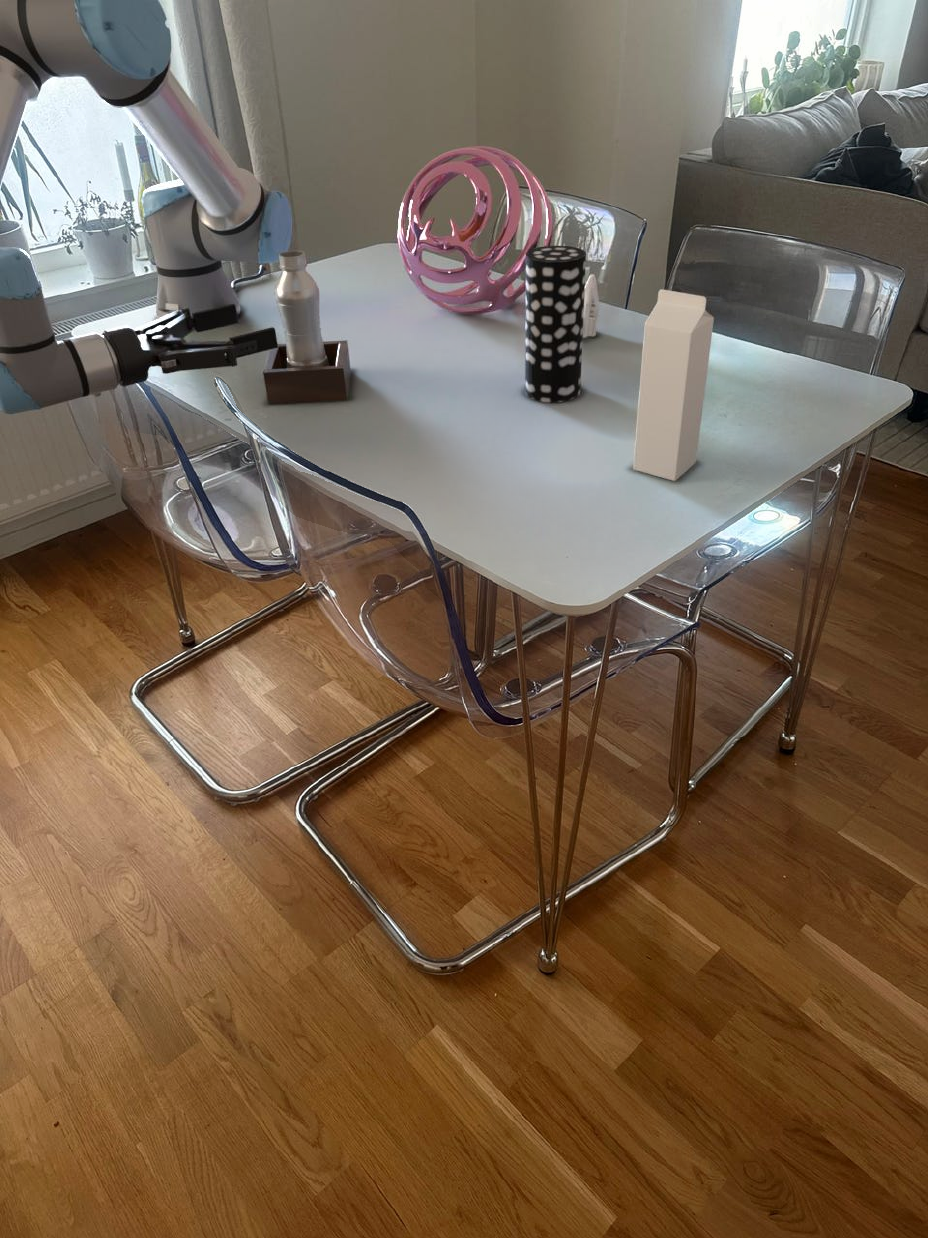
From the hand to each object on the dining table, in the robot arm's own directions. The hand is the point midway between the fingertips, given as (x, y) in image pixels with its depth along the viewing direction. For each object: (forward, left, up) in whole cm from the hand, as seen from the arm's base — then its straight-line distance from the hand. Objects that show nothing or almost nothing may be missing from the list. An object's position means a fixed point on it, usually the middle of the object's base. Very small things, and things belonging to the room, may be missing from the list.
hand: (255, 324), depth 133 cm
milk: (+29, +54, -12) cm, 63 cm away
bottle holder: (-4, +6, -11) cm, 14 cm away
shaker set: (-18, +49, -12) cm, 54 cm away
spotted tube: (+3, +43, -12) cm, 45 cm away
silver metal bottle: (-4, +6, -12) cm, 14 cm away
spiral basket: (-38, +33, -12) cm, 52 cm away
